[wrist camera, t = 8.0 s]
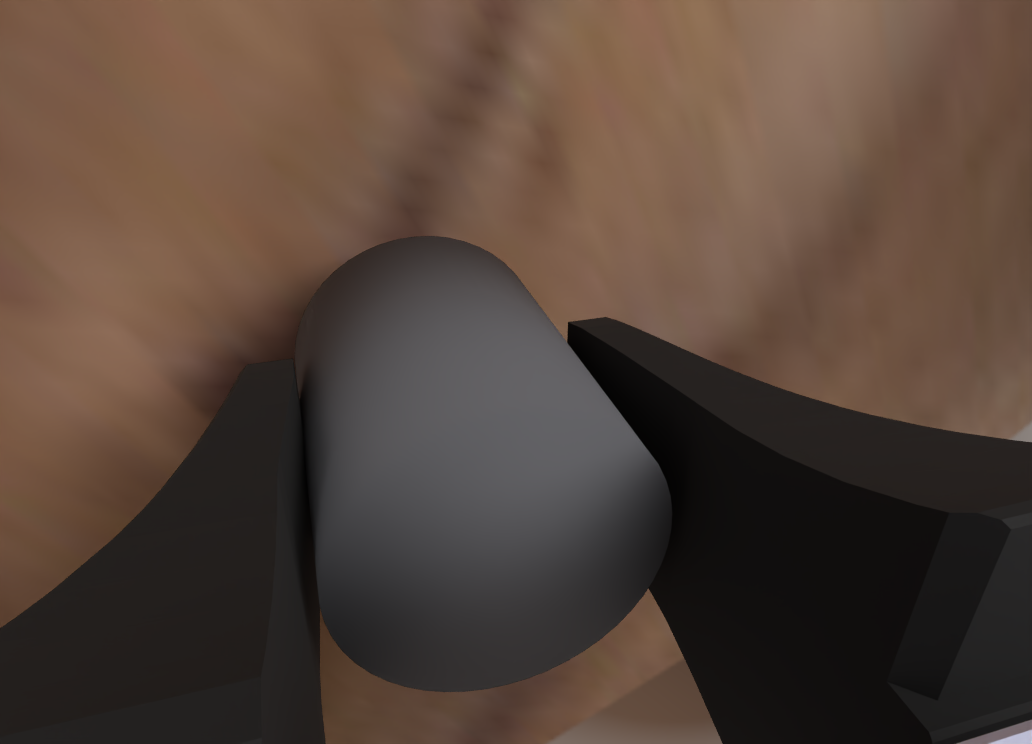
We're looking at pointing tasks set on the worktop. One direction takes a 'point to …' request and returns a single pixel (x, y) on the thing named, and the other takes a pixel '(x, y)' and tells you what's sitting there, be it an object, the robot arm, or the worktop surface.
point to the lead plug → (465, 474)
